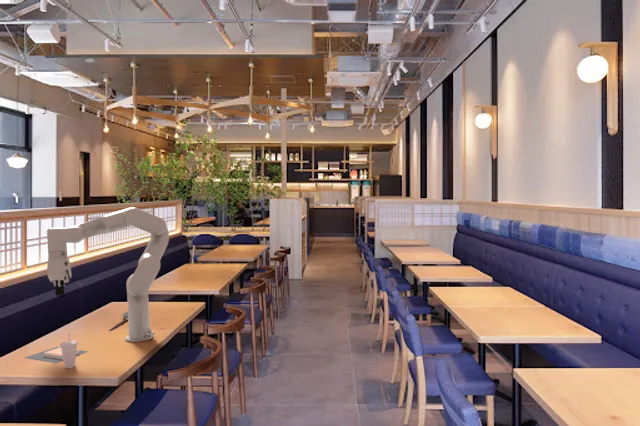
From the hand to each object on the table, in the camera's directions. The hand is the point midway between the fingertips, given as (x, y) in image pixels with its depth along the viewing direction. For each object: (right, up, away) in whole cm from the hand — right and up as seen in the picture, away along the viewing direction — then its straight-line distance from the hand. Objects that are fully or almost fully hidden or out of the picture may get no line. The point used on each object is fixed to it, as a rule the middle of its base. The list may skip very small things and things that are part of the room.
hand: (60, 294), depth 219 cm
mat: (+3, -25, -8) cm, 27 cm away
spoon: (+10, -24, +46) cm, 52 cm away
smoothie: (+16, -25, -23) cm, 38 cm away
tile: (0, -24, -7) cm, 25 cm away
